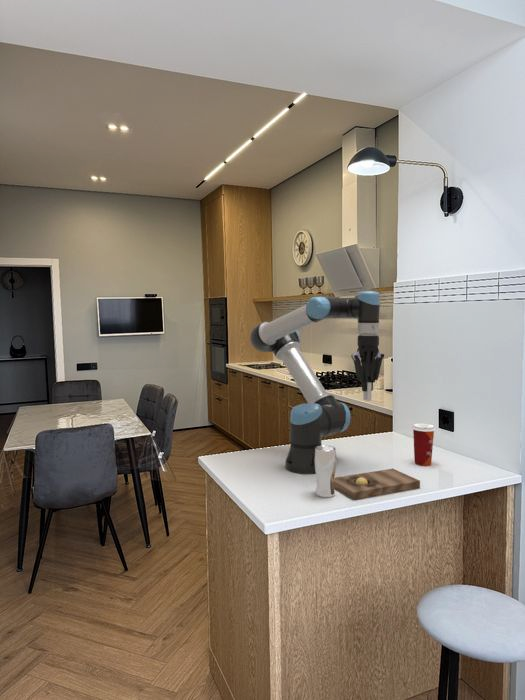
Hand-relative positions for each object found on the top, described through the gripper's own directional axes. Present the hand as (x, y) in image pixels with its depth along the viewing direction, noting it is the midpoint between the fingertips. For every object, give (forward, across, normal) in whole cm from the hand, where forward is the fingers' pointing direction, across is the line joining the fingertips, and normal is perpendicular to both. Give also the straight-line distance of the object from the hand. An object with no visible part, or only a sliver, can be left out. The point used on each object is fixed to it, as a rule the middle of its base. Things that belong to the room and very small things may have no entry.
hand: (367, 400), depth 177 cm
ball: (+24, -12, -14) cm, 31 cm away
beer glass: (+27, -25, -13) cm, 39 cm away
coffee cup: (+27, +26, -1) cm, 37 cm away
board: (+26, -7, -14) cm, 31 cm away
